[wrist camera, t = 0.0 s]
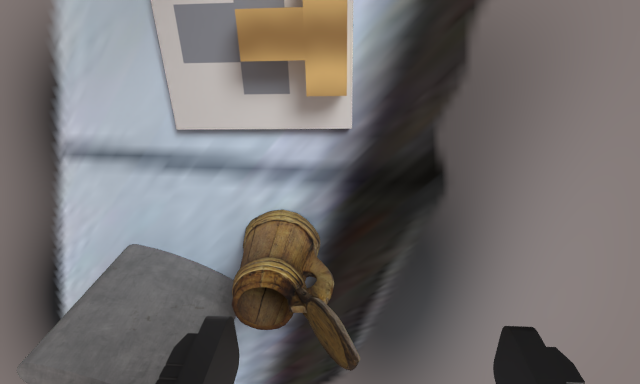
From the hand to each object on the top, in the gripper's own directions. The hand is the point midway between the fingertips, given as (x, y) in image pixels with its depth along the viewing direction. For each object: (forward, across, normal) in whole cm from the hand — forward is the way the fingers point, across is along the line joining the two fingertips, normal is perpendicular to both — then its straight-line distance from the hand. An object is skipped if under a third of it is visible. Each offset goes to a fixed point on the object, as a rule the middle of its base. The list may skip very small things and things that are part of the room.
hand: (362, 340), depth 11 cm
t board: (+29, +9, -7) cm, 31 cm away
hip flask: (+30, +21, +21) cm, 42 cm away
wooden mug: (+30, +6, +16) cm, 34 cm away
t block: (+28, +5, -7) cm, 30 cm away
